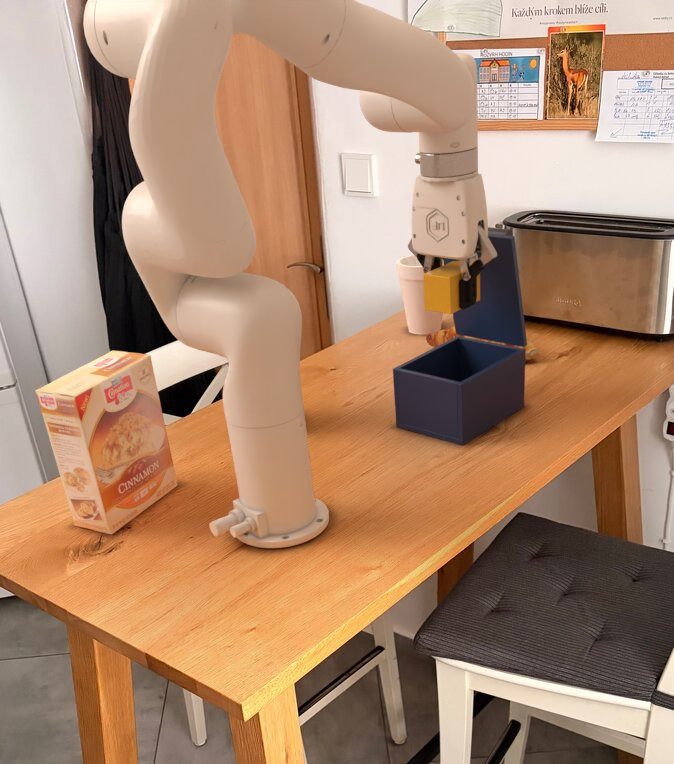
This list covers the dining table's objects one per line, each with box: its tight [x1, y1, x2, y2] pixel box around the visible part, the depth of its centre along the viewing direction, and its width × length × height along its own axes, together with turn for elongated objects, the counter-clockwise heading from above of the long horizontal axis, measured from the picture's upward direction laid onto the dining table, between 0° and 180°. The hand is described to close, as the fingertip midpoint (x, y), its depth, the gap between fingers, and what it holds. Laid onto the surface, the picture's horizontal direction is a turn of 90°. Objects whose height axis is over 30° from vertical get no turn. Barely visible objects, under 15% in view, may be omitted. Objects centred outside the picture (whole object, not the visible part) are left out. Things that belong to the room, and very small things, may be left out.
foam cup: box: [396, 254, 444, 336], centre depth 172 cm, size 10×9×13 cm
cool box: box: [392, 336, 526, 446], centre depth 138 cm, size 16×13×9 cm
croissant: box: [425, 324, 539, 361], centre depth 160 cm, size 21×10×8 cm, turn 60°
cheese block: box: [423, 261, 480, 315], centre depth 128 cm, size 7×5×5 cm, turn 137°
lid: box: [443, 226, 528, 347], centre depth 135 cm, size 17×13×5 cm
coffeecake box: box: [35, 349, 179, 536], centre depth 121 cm, size 15×7×20 cm, turn 151°
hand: (452, 302), depth 129 cm, fingers closed on cheese block, 4 cm apart
